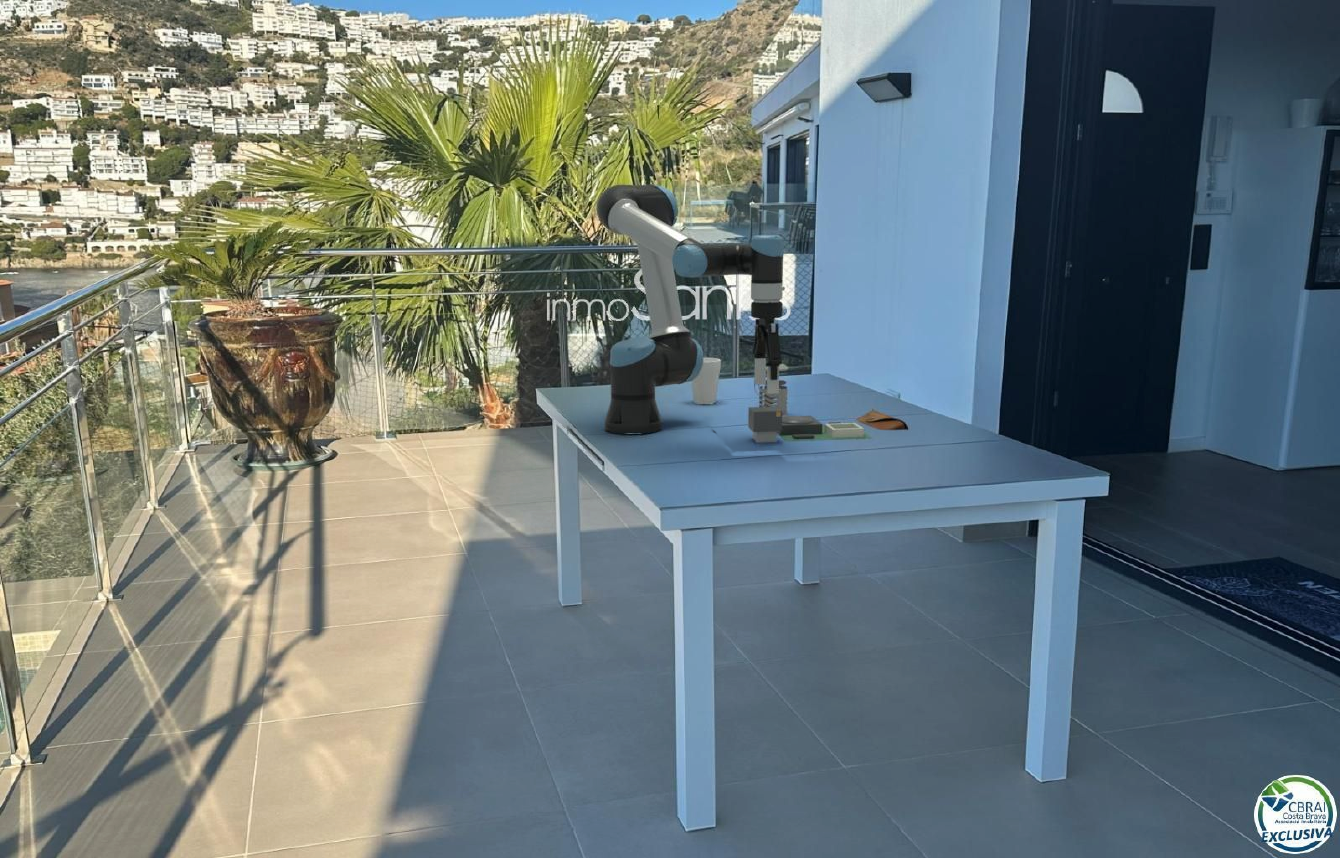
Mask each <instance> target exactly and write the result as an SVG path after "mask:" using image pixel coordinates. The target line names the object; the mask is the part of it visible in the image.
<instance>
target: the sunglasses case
mask: <svg viewBox="0 0 1340 858" xmlns="http://www.w3.org/2000/svg"><path fill="white" fill-rule="evenodd" d="M855 420H856V422H858V423H861V424H864V425H866V426H868V427H871V428H873V429H876V430H880V431H898V430H899V431H902V430H904V431H905V430H909V427H908V424H907V423H906V422H905V421H904V420H902V419H899V418H896V417H892V415H891V416H890V415H887V414H885V413H883V412H880V411H877V410H875V409H874V408H871V411H868V412H867V413H865V414H863V415H861V416H859V417H858V418H856V419H855Z"/></svg>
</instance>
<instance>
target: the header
mask: <svg viewBox="0 0 1340 858" xmlns="http://www.w3.org/2000/svg"><path fill="white" fill-rule="evenodd" d="M824 424H825V431H824V432H825V433H826V434H827V435H829V436H830V437H831V438H855V437H864V432H865V429H864V427H862V426H861V425H859V424H857V422H846V423H845V422H840V423H837V424H829V423H824Z"/></svg>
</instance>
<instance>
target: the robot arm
mask: <svg viewBox="0 0 1340 858" xmlns="http://www.w3.org/2000/svg"><path fill="white" fill-rule="evenodd" d="M596 215H597V218H598V221H600V223H601V225H602V226H603V227H605V228H606V229H607V230H608V231H610V232H612V233H613V234H616V235H618V236H623V235H624V236H626V237H628V238H630V240H631V241H632V242H634V243H635V244H636V245H637V251H638V257H639V262H640V269H641V270H640V271H641V274H642V280H643V281H642V282H643V286H644V292H645V297H646V303H647V304H646V305H647V309H648V315H649V322H650V327H651V333H649V336H648V337H647V338H646V337H640V338H630V339H624V340H621V341H618V342H616V343H614V344H613V345H612V346H611V348H610V355H609V365H610V368H609V369H610V370H609V371H610V402H609V406H608V409H607V412H606V415H605V420H604V430H605V429H606V430H607V432H608V431H610V432H609V433H612V432H614V433H613V434H618V433H646V434H651V433H650V432H653V433H656V432H655V431H657V432H659V431H661V430H662V429H663V420H662V417H661V413H660V411H659V407H658V404H657V402H656V388H657V387H665V386H670V385H671V386H673V385H681V384H685V383H688V382H689V383H690V382H692V380H694V379H695V378H696V377H697V376H698V375H699V372H700V371H701V369H702V366H703V358H704V352H703V348H702V346H701V345H700V344H699V342H698V340H696V339H693V338H692V335H691V330H690V329H688V328H687V327H686V326H684V322H683V317H682V309H681V304H680V299H679V298H680V297H679V292H678V287H677V282H676V275H675V273H676V274H677V275H678V276H679V277H681V278H692V279H693V278H702V277H714V276H716V277H717V276H718V277H719V276H734V275H740V276H744V275H745V276H750V278H751V279H750V299H751V300H752V302H751V303H750V316H751V318H754V319H755V320H754V321H755V328H754V336H753V343H752V344H753V345H752V351H751V352H752V355H753V357H754V378H755V386H756V385H757V386H758V385H759V386H763V385H764V384H766V380H767V394H773V393H779V380H780V371H779V365H780V364H783V361H782V354H781V343H780V333H779V327H780V326H779V323H775V319H780V318H782V317H783V313H784V312H783V311H784V310H783V307H784V304H783V302H782V301H781V300H783V291H785V290H786V287H785V286H784V285H783V283H784V282H783V281H784V279H783V278H784V277H783V276H784V274H783V273H784V255H785V252H784V244H783V243H784V242H783V241H784V240H783V237H782V236H780V235H778V234H776V235H774V234H773V235H769V234H768V235H767V234H765V235H763V234H762V235H761V234H760V235H753V236H752V237H751V242H750V243H737V242H727V243H711V244H710V243H707V244H705V243H701V242H699V241H697V240H696V239H694V238H692V237H690V236H689V235H687V234H685V233H683V232H681V231H680V230H678V229H677V228H674V226H675V225H676V223H677V220H678V218H677V217H678V216H679V205H678V202H677V199H676V197H675V195H674V194H673V192H672V191H671V190H670V189H668V188H667V187H665V186H663V185H656V184H652V183H651V184H616V185H612V186H609V187H608V188H606V189H605V190H604V191H602V193H601V194H600V196H599V198H598V199H597V204H596ZM766 366H767V371H766ZM764 386H765V385H764ZM661 428H662V429H661ZM660 429H661V430H660ZM606 430H605V431H606ZM658 430H659V431H658Z"/></svg>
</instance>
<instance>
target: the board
mask: <svg viewBox="0 0 1340 858" xmlns="http://www.w3.org/2000/svg"><path fill="white" fill-rule="evenodd" d="M837 423H841V421H836V422H835V421H830V422H828V424H837ZM825 424H826V423H824V424H823V426H822V434H794V435H779V437H781V438H782V439H783V440H784V441H785V442H807V441H809V442H811V441H812V442H813V441H815V442H816V441H834V440H835V441H838V440H865V439H866V440H867V439H868V440H871V439H873V436H871V435H869V434H868V433H866V432H865V431H864V437H855V438H831V437H830V436H829V435H827V434H826V433H825V432H824V431H825Z"/></svg>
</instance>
